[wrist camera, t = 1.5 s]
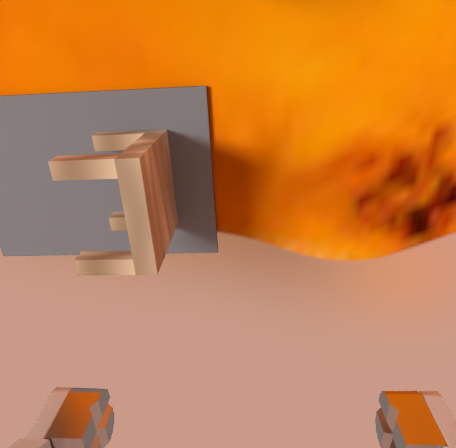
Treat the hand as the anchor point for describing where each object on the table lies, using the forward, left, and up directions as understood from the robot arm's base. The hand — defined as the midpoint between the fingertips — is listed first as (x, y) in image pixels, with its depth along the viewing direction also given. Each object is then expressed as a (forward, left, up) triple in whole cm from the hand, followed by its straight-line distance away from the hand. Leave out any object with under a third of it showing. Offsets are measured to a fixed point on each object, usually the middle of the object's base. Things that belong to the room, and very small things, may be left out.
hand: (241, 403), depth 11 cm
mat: (+13, 0, -22) cm, 25 cm away
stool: (+9, 0, -21) cm, 23 cm away
